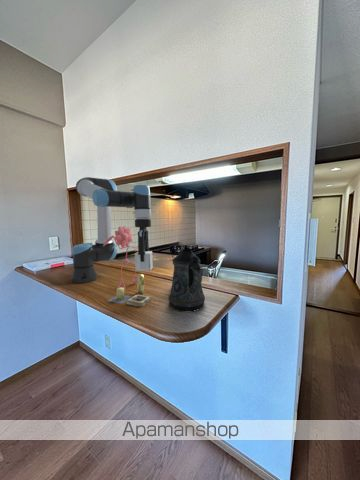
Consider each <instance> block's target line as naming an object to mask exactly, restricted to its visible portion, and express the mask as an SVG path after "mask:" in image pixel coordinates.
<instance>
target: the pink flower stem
mask: <svg viewBox="0 0 360 480" xmlns="http://www.w3.org/2000/svg"><path fill="white" fill-rule="evenodd" d="M131 230H132V229H131V228H130V227H126V226H125V225H124V226H122V225H120V226H118V229H117V230H114V234H115V235H111V237H110V238H108V239H107V240H106V241H105V243H104V245H103V246H105V245H106V244H108V243H109V242H110V241H111V239H112V240H113V241H115V244H116V246H117V247H118V249H119V250H123V249H125V248H126V251H125V252H126V254H125V259H123V260H124V261H123V264H122V266H121V268H120V274H121V275H120V276H121V278H120V282H119V283H118V284H117V285H118V286H117V288H120V286H121V285H122V286H123V288H124V291H125V290H126V286H125V282H126V281H124V280H125V279H124V278H123V270H122V269H123V267H124V265H125V264H126V265H128V264H133V265H135V262H131V261H130V260H129V259H128V258H127V257H128V251H129V250H128V249H129V248H133V249H138V246H136V247H135V246H130V245H129V244H130V243H132V242H133V238H132V236H133V233H131ZM134 269H135V270H134V272H135V273H134V276H133V277H132V279H131V280H132V282H133V283H137V275H138V274H137V271H136V268H135V267H134ZM145 283H147V281H146V282H145ZM117 288H116V289H117Z"/></svg>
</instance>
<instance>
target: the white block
mask: <svg viewBox="0 0 360 480" xmlns="http://www.w3.org/2000/svg"><path fill="white" fill-rule="evenodd" d="M145 254H146V269H140V257H139V255H138V251H137V252H135V253H134V265H135V266H134V269H135V268H136V272H140V271H142V272H143V271H146V272H147V271H148V272H149V271H152V269H153V266H154V265H153V261H154V260H153V251H152V250H150V251H145Z"/></svg>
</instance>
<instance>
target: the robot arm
mask: <svg viewBox="0 0 360 480" xmlns="http://www.w3.org/2000/svg"><path fill="white" fill-rule="evenodd" d="M116 184H117V183H115V181H114V180H111V179H106V178H98V177H88V176H87V177H82V178H80V179H78V181H77V182H76V184H75V189H76V192H77V193H78V194H79V195H81V196H82V197H85V198H86V197H87V198H90V199H91V200H92V202H93V204H94V205H95V206H96V207H97V209H96V210H97V217H96V218H97V221H96V223H97V239H96V240H95V241H94V242H95V244H93V242H86V243H79V244H76V245H74V246H73V247H72V265H73V270H72V274H71V277H70V282H71V283H73V284H85V283H91V282H94V281H96V280H97V279H98V275H97V272H96V269H95V267H94V263H98V262H99V263H100V262H104V261H106V262H107V261H112V260H114V259H115V258H116V256H117V252H118V248H117V245H116V242H115V243H114V239H113V238H112V239H111V241H110V242H109V243H108V244H106V245H105V246H103V245H104V243H105V241H106V240H107V239H108V238H110V237H111V236H112V207H113V208H126V209H133V208H134V211H133V215H134V218H135V219H134V227H135V228H139V230H138V232H137V247H138V248H137V249H138V250H137V252H138V255H139V257H140V269H146V254H145V251H151V249H150V246H149V245H150V244H149V231H148V228H151V227H152V219H151V218H152V212H151V210H152V209H151V190H150V186H149V185H148V184H135V185H134V186H133V189H132V191H120V190H118V188H117V185H116Z"/></svg>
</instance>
